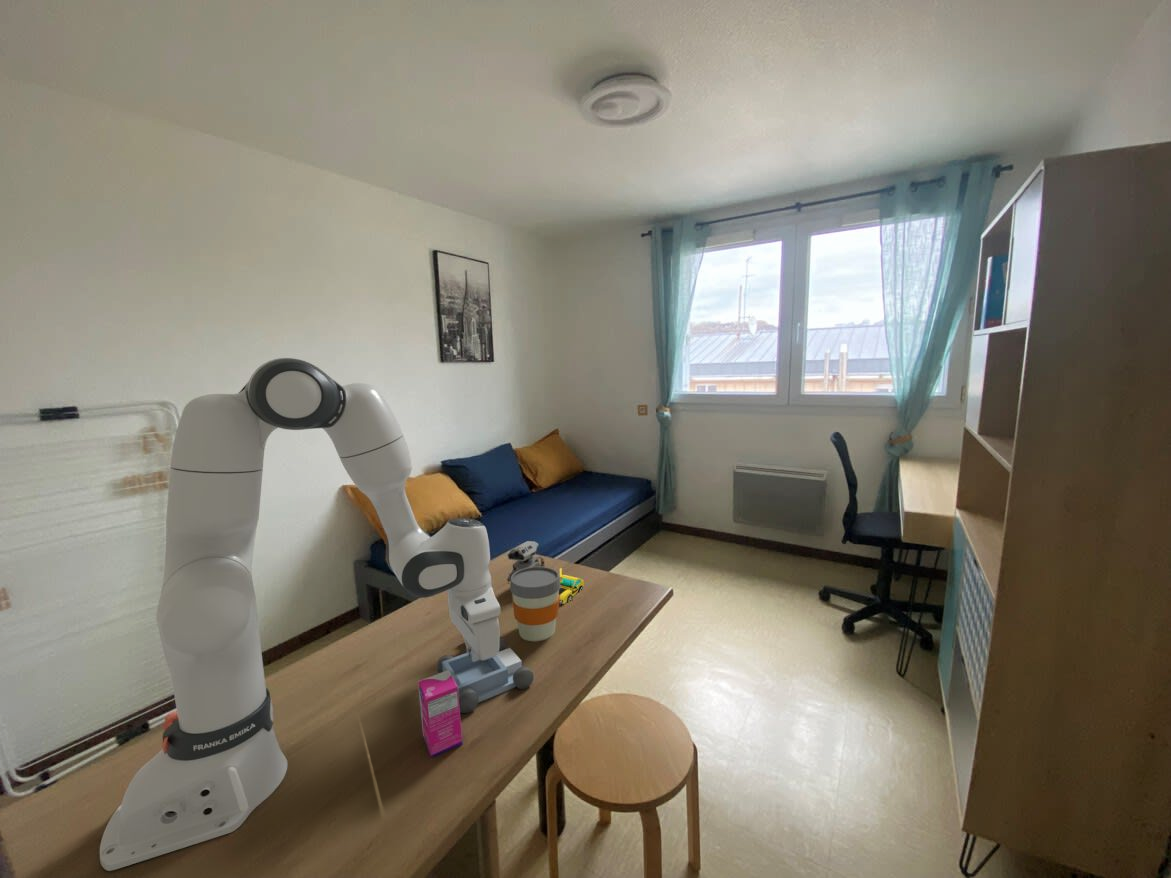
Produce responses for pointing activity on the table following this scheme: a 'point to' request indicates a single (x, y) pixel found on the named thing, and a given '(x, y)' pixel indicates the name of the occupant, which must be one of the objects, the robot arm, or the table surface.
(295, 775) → the table surface
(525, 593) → the reusable coffee cup
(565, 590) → the toy car
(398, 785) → the table surface
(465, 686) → the chassis
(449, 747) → the supplement box
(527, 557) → the figurine
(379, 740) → the table surface
